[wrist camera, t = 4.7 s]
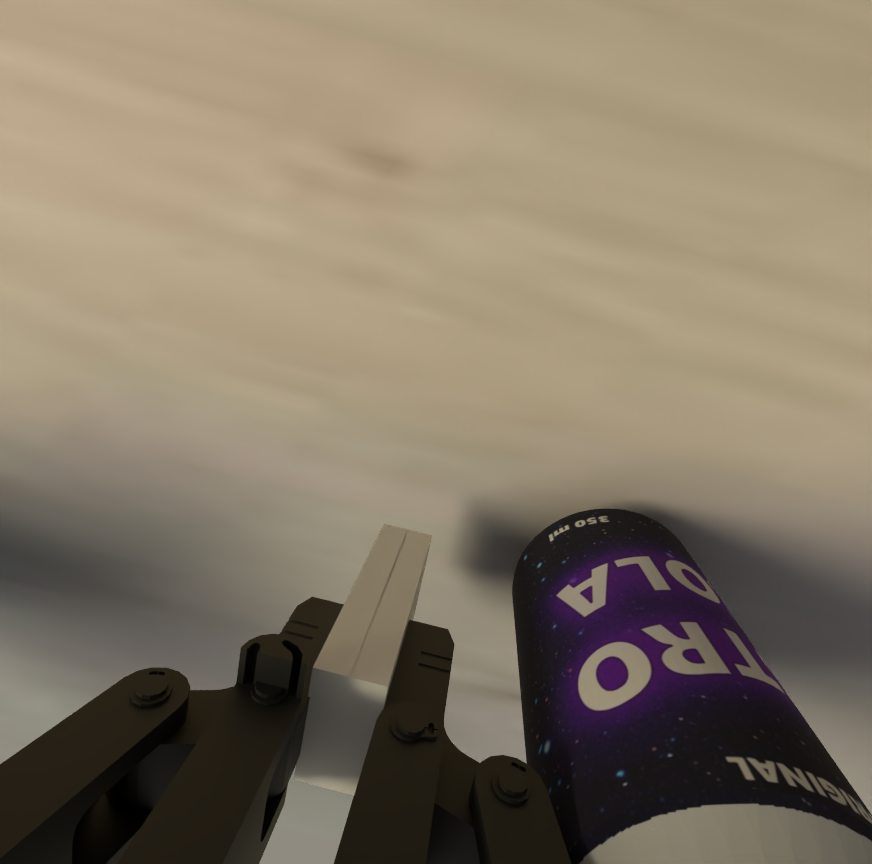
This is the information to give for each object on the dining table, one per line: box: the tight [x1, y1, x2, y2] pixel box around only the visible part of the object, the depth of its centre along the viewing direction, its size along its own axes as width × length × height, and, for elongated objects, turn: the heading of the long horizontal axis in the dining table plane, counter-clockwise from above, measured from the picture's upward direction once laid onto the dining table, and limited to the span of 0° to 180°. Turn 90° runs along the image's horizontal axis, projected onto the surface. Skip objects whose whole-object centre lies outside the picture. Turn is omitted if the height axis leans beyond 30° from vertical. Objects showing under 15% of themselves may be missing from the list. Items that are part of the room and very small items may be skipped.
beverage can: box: [512, 509, 872, 864], centre depth 14 cm, size 6×6×12 cm
